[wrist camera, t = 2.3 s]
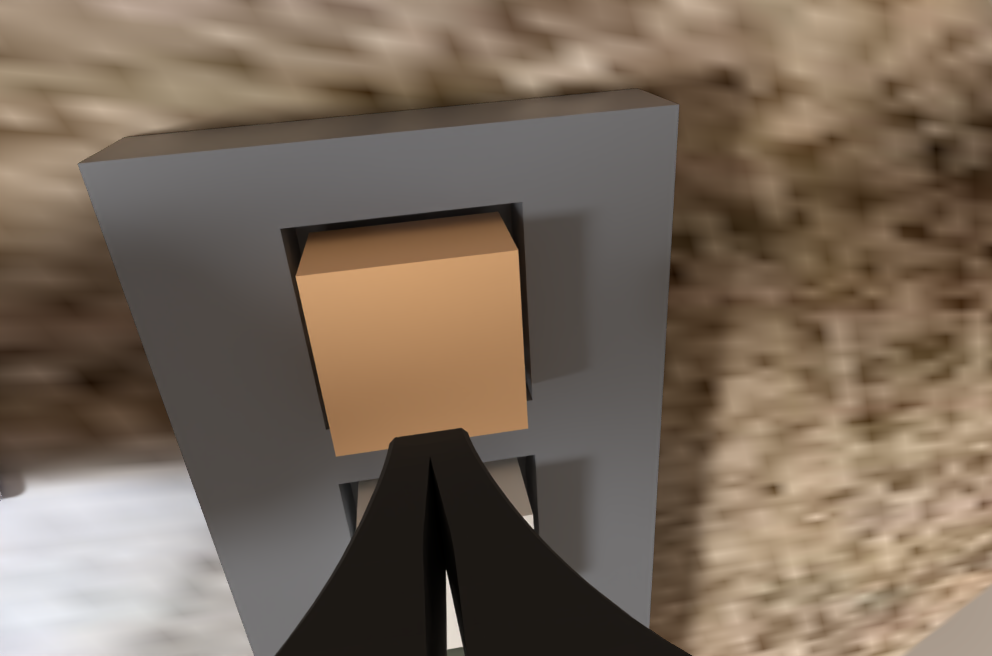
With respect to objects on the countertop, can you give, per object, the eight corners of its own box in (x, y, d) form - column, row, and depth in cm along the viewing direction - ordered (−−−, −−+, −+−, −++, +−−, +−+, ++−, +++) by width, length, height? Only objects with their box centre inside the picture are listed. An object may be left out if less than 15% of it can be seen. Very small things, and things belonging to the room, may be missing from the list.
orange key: (342, 393, 20) (336, 456, 17) (309, 232, 17) (295, 276, 15) (509, 370, 20) (527, 428, 17) (498, 211, 18) (518, 250, 15)
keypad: (315, 733, 29) (308, 806, 27) (123, 137, 17) (77, 163, 15) (620, 676, 31) (642, 740, 28) (637, 88, 19) (679, 104, 16)
